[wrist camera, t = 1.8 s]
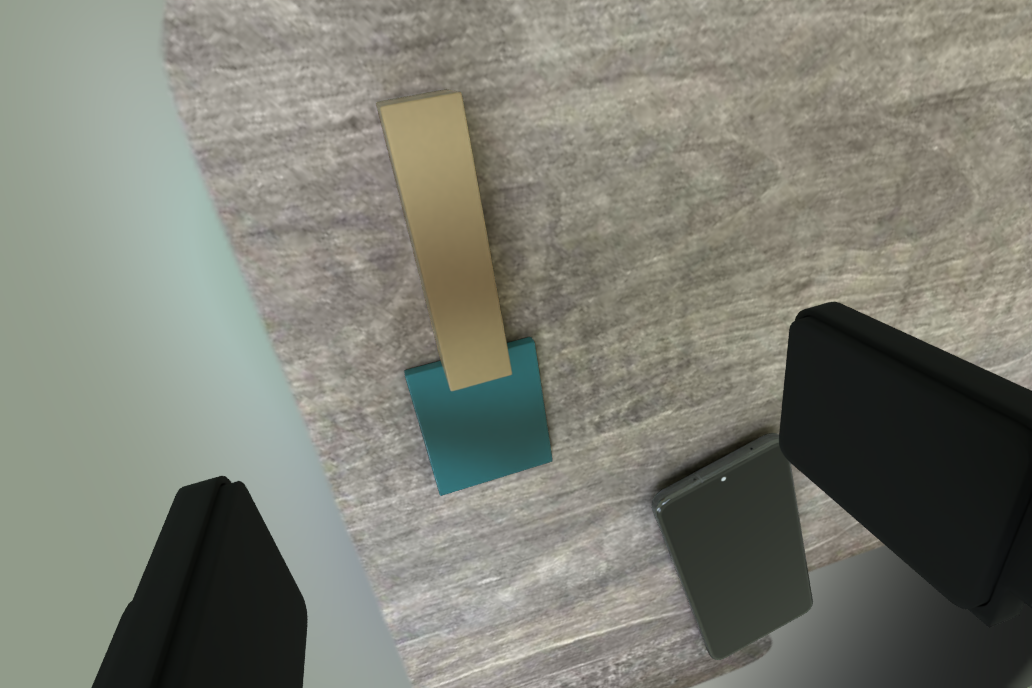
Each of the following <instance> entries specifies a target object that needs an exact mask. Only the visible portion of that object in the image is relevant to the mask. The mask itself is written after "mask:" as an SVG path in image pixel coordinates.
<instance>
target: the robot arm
mask: <svg viewBox="0 0 1032 688" xmlns="http://www.w3.org/2000/svg"><path fill="white" fill-rule="evenodd" d="M779 446H780V449H781V451H782V453H783V455H784V456H785V458H786V459H787V460H788V461H789V462H790V463H792V464H793V465H794V466H795V467H796V468H797V469H798V470H800V471H801V472H802V473H803V474H804V475H805V476H806V477H808V478H809V479H810V480H811V481H812V482H813V483H815V484H816V485H817V486H818V487H819V488H820V489H821V490H823V491H824V492H825V493H826V494H827V495H828V496H829V497H831V498H832V499H833V500H834V501H835V502H836V503H838V504H839V505H840V506H841V507H842V508H843V509H844V510H846V511H847V512H848V513H849V514H850V515H851V516H852V517H854V518H855V519H856V520H857V521H858V522H859V523H861V524H862V525H863V526H864V527H865V528H866V529H867V530H869V531H870V532H871V533H872V534H873V535H874V536H875V537H877V538H878V539H879V540H880V541H881V542H882V543H884V544H885V545H886V546H887V547H888V548H889V549H891V550H892V551H893V552H894V553H895V554H896V555H897V556H898V557H900V558H901V559H902V560H903V561H904V562H905V563H907V564H908V565H909V566H910V567H911V568H912V569H914V570H915V571H916V572H917V573H918V574H919V575H921V577H923V578H924V579H925V580H926V581H927V582H928V583H930V584H931V585H932V586H933V587H934V588H935V589H936V590H938V591H939V592H940V593H941V594H942V595H943V596H945V597H946V598H947V599H948V600H949V601H950V602H952V603H953V604H955V605H956V606H958V607H960V608H963V609H968V610H969V611H970V612H972V613H973V614H974V615H975V616H976V617H977V618H979V619H980V620H981V621H982V622H983V623H985V624H986V625H987V626H988V627H989V628H990V627H992V626H995V625H997V624H999V623H1002V622H1004V621H1006V620H1009V619H1011V618H1013V617H1016V616H1018V615H1019V614H1020V613H1021V610H1022V608H1023V606H1024V604H1025V603H1026V604H1027V605H1028V606H1030V607H1031V608H1032V391H1031V390H1029V389H1026V388H1024V387H1022V386H1020V385H1018V384H1016V383H1013V382H1011V381H1009V380H1007V379H1005V378H1002V377H1000V376H998V375H996V374H994V373H992V372H989V371H987V370H985V369H983V368H981V367H978V366H976V365H974V364H972V363H970V362H968V361H965V360H963V359H961V358H959V357H957V356H954V355H952V354H950V353H948V352H946V351H944V350H941V349H939V348H937V347H935V346H933V345H930V344H928V343H926V342H924V341H922V340H920V339H917V338H915V337H913V336H911V335H909V334H906V333H904V332H902V331H900V330H898V329H895V328H893V327H891V326H889V325H887V324H885V323H882V322H880V321H878V320H876V319H874V318H871V317H869V316H867V315H865V314H863V313H861V312H858V311H856V310H854V309H852V308H850V307H847V306H845V305H843V304H841V303H838V302H828V303H825V304H821V305H818V306H814V307H811V308H807V309H804V310H802V311H800V312H799V313H798V315H797V316H796V319H795V321H794V322H792V324H791V326H790V329H789V339H788V349H787V359H786V370H785V380H784V390H783V401H782V411H781V421H780V432H779ZM306 636H307V609H306V605H305V601H304V598H303V596H302V594H301V592H300V590H299V588H298V586H297V584H296V583H295V580H294V578H293V576H292V575H291V573H290V571H289V569H288V567H287V565H286V563H285V561H284V559H283V557H282V555H281V554H280V552H279V550H278V547H277V546H276V544H275V542H274V540H273V538H272V536H271V534H270V532H269V530H268V528H267V526H266V524H265V522H264V520H263V518H262V516H261V515H260V513H259V511H258V509H257V507H256V505H255V503H254V501H253V499H252V497H251V495H250V493H249V491H248V489H247V488H246V487H245V484H244V483H242V482H241V481H237V482H234V483H231V481H230V480H229V479H228V478H227V477H225V476H219V477H216V478H212V479H208V480H205V481H201V482H198V483H195V484H191V485H187V486H184V487H182V488H180V489H179V491H178V492H177V494H176V496H175V498H174V501H173V503H172V506H171V508H170V511H169V513H168V515H167V518H166V520H165V523H164V525H163V527H162V530H161V532H160V535H159V537H158V540H157V542H156V545H155V547H154V549H153V552H152V554H151V557H150V559H149V561H148V564H147V566H146V569H145V571H144V574H143V576H142V578H141V581H140V583H139V586H138V588H137V591H136V593H135V595H134V598H133V600H132V601H131V602H130V603H129V604H128V606H127V607H126V609H125V611H124V613H123V614H122V617H121V619H120V621H119V624H118V626H117V628H116V631H115V633H114V635H113V638H112V640H111V643H110V645H109V648H108V650H107V652H106V655H105V657H104V659H103V662H102V664H101V667H100V669H99V671H98V674H97V676H96V678H95V681H94V683H93V685H92V688H303V676H304V663H305V662H304V661H305V649H306ZM1028 688H1032V686H1030V687H1028Z"/></svg>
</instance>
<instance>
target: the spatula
mask: <svg viewBox="0 0 1032 688" xmlns="http://www.w3.org/2000/svg"><path fill="white" fill-rule="evenodd" d="M376 106H377V110H378V114H379V118H380V122H381V126H382V130H383V134H384V138H385V142H386V146H387V150H388V154H389V158H390V162H391V166H392V169H393V173H394V177H395V181H396V185H397V189H398V193H399V197H400V201H401V205H402V209H403V213H404V217H405V221H406V225H407V229H408V233H409V237H410V241H411V245H412V249H413V253H414V257H415V261H416V265H417V269H418V273H419V277H420V281H421V285H422V289H423V293H424V297H425V301H426V305H427V308H428V312H429V316H430V320H431V324H432V328H433V332H434V336H435V340H436V344H437V348H438V352H439V356H440V360H441V361H437V362H434V363H430V364H426V365H422V366H419V367H415V368H411V369H407V370H405V371H404V373H405V378H406V381H407V385H408V388H409V392H410V395H411V398H412V402H413V405H414V409H415V412H416V416H417V419H418V422H419V426H420V429H421V433H422V436H423V439H424V443H425V446H426V450H427V453H428V456H429V460H430V463H431V467H432V470H433V473H434V477H435V480H436V484H437V487H438V491H439V494H440V496H442V495H445V494H449V493H452V492H455V491H458V490H462V489H465V488H468V487H471V486H475V485H478V484H481V483H484V482H488V481H491V480H494V479H497V478H501V477H504V476H507V475H510V474H513V473H517V472H520V471H523V470H526V469H530V468H533V467H536V466H539V465H543V464H546V463H549V462H552V453H551V446H550V440H549V433H548V427H547V420H546V413H545V407H544V400H543V394H542V387H541V380H540V374H539V367H538V361H537V354H536V347H535V342H534V340H533V339H532V337H528V338H524V339H520V340H516V341H513V342H509V343H507V342H506V336H505V331H504V325H503V320H502V314H501V309H500V303H499V297H498V292H497V286H496V281H495V275H494V270H493V264H492V259H491V253H490V247H489V242H488V236H487V231H486V225H485V220H484V214H483V209H482V203H481V198H480V192H479V186H478V181H477V175H476V170H475V164H474V159H473V153H472V148H471V142H470V136H469V131H468V125H467V120H466V114H465V109H464V103H463V98H462V93H461V92H457V91H452V90H446V89H445V90H440V91H434V92H429V93H423V94H418V95H412V96H407V97H401V98H396V99H390V100H385V101H379V102H377V103H376Z"/></svg>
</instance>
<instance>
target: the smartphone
mask: <svg viewBox="0 0 1032 688" xmlns="http://www.w3.org/2000/svg"><path fill="white" fill-rule="evenodd" d="M652 510H653V513H654V515H655V518H656V520H657V523H658V526H659V528H660V531H661V533H662V536H663V538H664V541H665V543H666V546H667V549H668V551H669V554H670V556H671V559H672V561H673V564H674V566H675V569H676V572H677V574H678V577H679V579H680V582H681V584H682V587H683V590H684V592H685V595H686V597H687V600H688V602H689V605H690V607H691V610H692V613H693V615H694V618H695V620H696V623H697V625H698V628H699V630H700V633H701V636H702V638H703V641H704V643H705V646H706V648H707V651H708V653H709V655H710V656H711V657H712V658H713V659H715V660H722V659H724V658H726V657H728V656H730V655H731V654H733V653H735V652H737V651H739V650H740V649H742V648H744V647H746V646H748V645H749V644H751V643H753V642H755V641H757V640H758V639H760V638H762V637H764V636H766V635H767V634H769V633H771V632H773V631H775V630H776V629H778V628H780V627H782V626H784V625H785V624H787V623H789V622H791V621H792V620H794V619H796V618H798V617H800V616H802V615H803V614H805V613H807V612H808V611H809V610H810V609H811V607H812V604H813V599H812V593H811V587H810V581H809V574H808V568H807V562H806V556H805V549H804V543H803V537H802V531H801V525H800V518H799V512H798V506H797V500H796V494H795V487H794V481H793V475H792V469H791V463H790V462H789V461H788V460H787V459H786V458H785V456H784V455H783V453H782V451H781V449H780V446H779V434H776V433H769V434H766V435H764V436H762V437H760V438H758V439H756V440H754V441H752V442H750V443H748V444H747V445H745V446H743V447H741V448H739V449H737V450H735V451H733V452H732V453H730V454H728V455H726V456H724V457H722V458H720V459H719V460H717V461H715V462H713V463H711V464H709V465H707V466H706V467H704V468H702V469H700V470H698V471H696V472H694V473H692V474H691V475H689V476H687V477H685V478H683V479H681V480H679V481H678V482H676V483H674V484H672V485H670V486H668V487H666V488H665V489H663V490H661V491H660V492H658V493H657V494H656V495H655V496H654V498H653V501H652Z"/></svg>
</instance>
